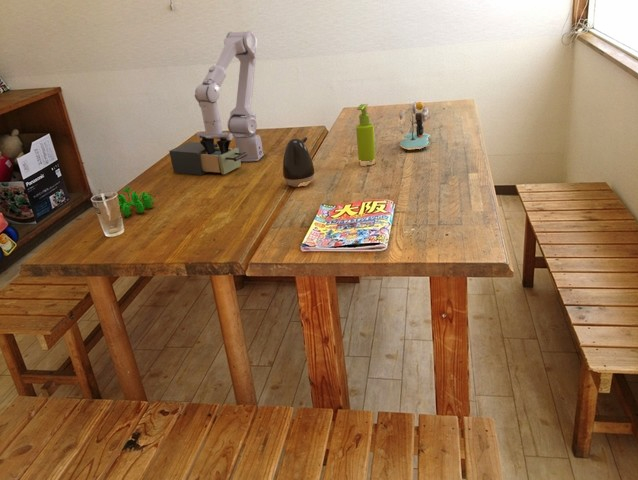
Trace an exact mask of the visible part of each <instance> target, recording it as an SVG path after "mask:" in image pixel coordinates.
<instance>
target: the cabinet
mask: <svg viewBox="0 0 638 480" xmlns="http://www.w3.org/2000/svg"><path fill="white" fill-rule="evenodd" d="M214 147H218V148H219V146H218V144H217V143H214ZM205 151H206V149H205V148H204V147H203V145H202V144H201V143H200V142H197V141H195V142H194V141H188V142H186V143H184V144H181V145H179V146H177V147H174V148H172V149H170V150H168V153H169V156H170V161H171V167H172V170H173V174H182V175H194V176H204V175H205V174H207V173H209V172H206V171H202V167H201V162H200V157H199V154H200V153H203V152H205Z"/></svg>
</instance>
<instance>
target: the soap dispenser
mask: <svg viewBox="0 0 638 480" xmlns="http://www.w3.org/2000/svg"><path fill="white" fill-rule="evenodd" d="M368 105H369V104H368V103H361V104H360V105H358V107H357V108H356V110H357V111H361V113H360V114H359V115H358V118H359V120H358V121H359V124H357V125H356V126H355V128H356V130H355V131H356V143H357V144H356V145H357V157H358V161H359V160H361V161H370V160H373V159H375V158H376V157H377V155H376V141H375V140H376V139H375V126H374V125H375V124H373V123H371V122H370V119H371V118H370V114H369V113H367V107H369V106H368ZM376 159H377V158H376Z"/></svg>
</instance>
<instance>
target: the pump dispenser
mask: <svg viewBox="0 0 638 480" xmlns="http://www.w3.org/2000/svg"><path fill="white" fill-rule="evenodd" d="M307 141H308V137H307V136H304V138H302V139H300V138H297V137H293V138H291V139H290V140H289V141H288V142H287V143H286V146H285V149H284V153H283V154H284V155H283V161H282V177H283V178H284V180H285V182H286V183H287V185H288V186H290V187H292V188H296V189H297V187H298V185H299V184H300V183H303V182H307V181H310V180H312V179H313V180H314V175H315V167H314V162H313V159H312V156H311V153H310V151H309V150H308V147H307V146H306V142H307ZM313 180H312V181H313Z"/></svg>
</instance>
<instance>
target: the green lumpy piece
mask: <svg viewBox="0 0 638 480" xmlns="http://www.w3.org/2000/svg"><path fill="white" fill-rule="evenodd" d="M130 191H132V188H131V187H126V188H124V189H123V192H124V193H127V196H128V201H129V202H128V201H127V198H126V197H125V196H124V194H123V193H120V194H118V195H117V198H119V199H118V200H119V202H118V203H119V204H118V205H119V209H120V212H121V213H123V215H124V216H125V217H126V218H128V217H130V215H131V213H132V212H131V208H130V207H131V206H134V207H135V209H136V212H137V213H139V214H144V212H145V209H148V210H150V209H152V208H153V207H154V205H155V199H154V198H153V197H152V195H151V193H150V192H148V191H143V192H141V193H140V194H139V195H138V193H137V191H135V190H133V191H132V193H131V195H130V193H129V192H130ZM152 203H153V204H152Z"/></svg>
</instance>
